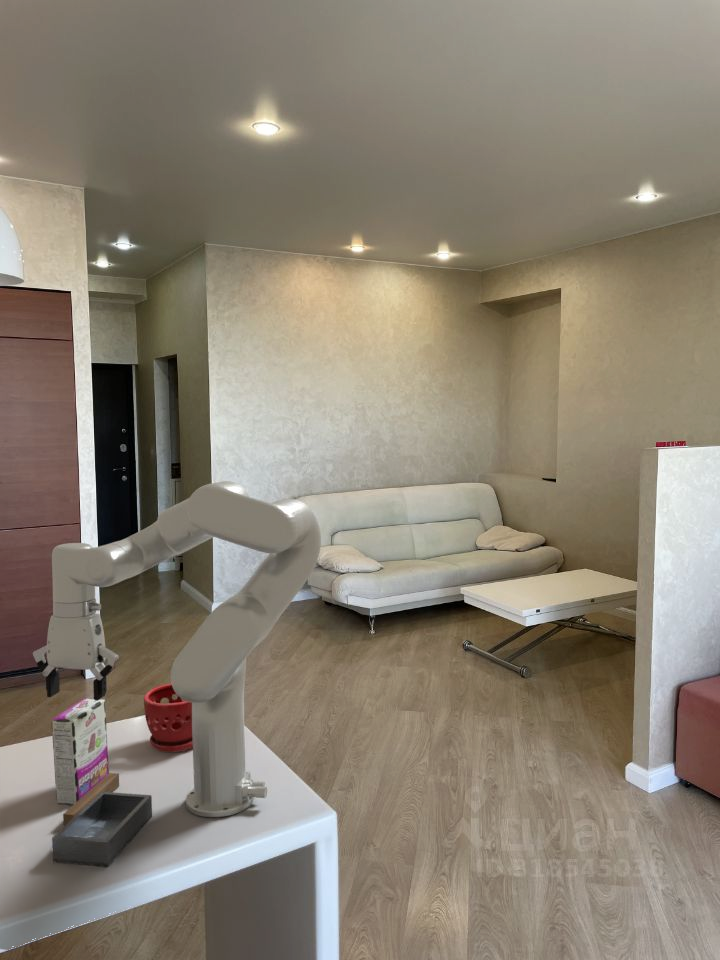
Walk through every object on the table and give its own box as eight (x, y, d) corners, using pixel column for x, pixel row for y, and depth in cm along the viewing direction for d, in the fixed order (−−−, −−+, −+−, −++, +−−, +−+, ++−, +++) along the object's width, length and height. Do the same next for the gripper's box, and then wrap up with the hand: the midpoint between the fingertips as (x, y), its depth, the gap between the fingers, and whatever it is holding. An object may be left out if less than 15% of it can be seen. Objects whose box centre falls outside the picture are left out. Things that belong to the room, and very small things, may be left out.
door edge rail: (119, 785, 145) (118, 773, 145) (74, 828, 130) (73, 815, 129) (109, 785, 146) (109, 772, 146) (63, 828, 130) (63, 814, 130)
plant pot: (144, 737, 169) (143, 685, 168) (203, 729, 173) (202, 679, 172) (146, 761, 156) (144, 705, 156) (209, 752, 160) (207, 698, 159)
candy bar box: (87, 777, 149) (84, 697, 148) (110, 779, 148) (106, 698, 147) (53, 804, 138) (50, 718, 137) (78, 806, 137) (74, 720, 136)
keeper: (152, 816, 133) (151, 795, 133) (108, 866, 118) (107, 842, 118) (102, 813, 135) (102, 791, 135) (53, 861, 120) (52, 837, 119)
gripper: (126, 606, 143) (127, 692, 145) (44, 602, 146) (46, 687, 148) (106, 615, 136) (108, 706, 137) (21, 611, 139) (23, 700, 140)
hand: (76, 696), depth 142 cm, fingers open, 9 cm apart
